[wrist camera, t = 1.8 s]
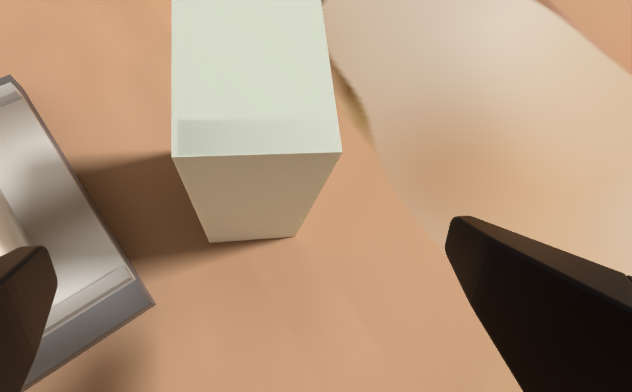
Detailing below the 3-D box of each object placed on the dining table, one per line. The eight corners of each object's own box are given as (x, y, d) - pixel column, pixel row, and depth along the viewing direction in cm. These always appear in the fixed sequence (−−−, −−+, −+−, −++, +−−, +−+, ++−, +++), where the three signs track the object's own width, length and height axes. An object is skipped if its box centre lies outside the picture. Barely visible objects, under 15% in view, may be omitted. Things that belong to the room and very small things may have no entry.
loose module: (294, 236, 21) (342, 152, 11) (209, 242, 20) (171, 157, 10) (285, 143, 23) (319, -8, 12) (206, 145, 22) (171, -16, 11)
